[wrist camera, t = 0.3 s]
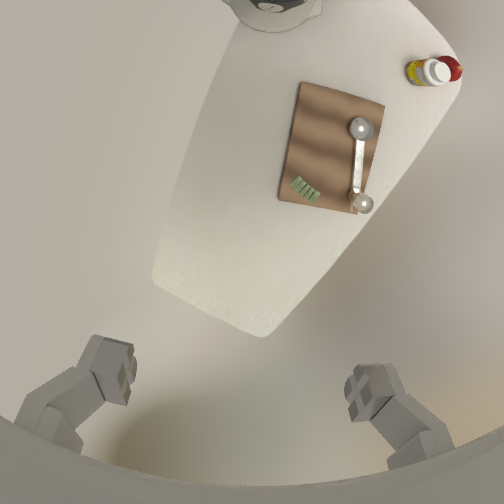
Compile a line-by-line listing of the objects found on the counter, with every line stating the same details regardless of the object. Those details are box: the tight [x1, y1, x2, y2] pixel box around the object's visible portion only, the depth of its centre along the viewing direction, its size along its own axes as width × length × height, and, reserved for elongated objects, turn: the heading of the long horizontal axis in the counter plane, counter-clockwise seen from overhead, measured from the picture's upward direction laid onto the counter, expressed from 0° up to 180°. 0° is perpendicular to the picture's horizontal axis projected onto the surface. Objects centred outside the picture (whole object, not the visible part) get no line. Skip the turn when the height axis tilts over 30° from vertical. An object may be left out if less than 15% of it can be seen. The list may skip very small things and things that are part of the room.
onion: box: [437, 56, 463, 82], centre depth 37 cm, size 6×6×8 cm
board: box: [278, 82, 385, 215], centre depth 50 cm, size 23×16×2 cm
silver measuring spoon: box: [348, 117, 374, 214], centre depth 46 cm, size 17×4×6 cm, turn 1°
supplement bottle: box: [405, 59, 451, 86], centre depth 37 cm, size 6×6×10 cm
